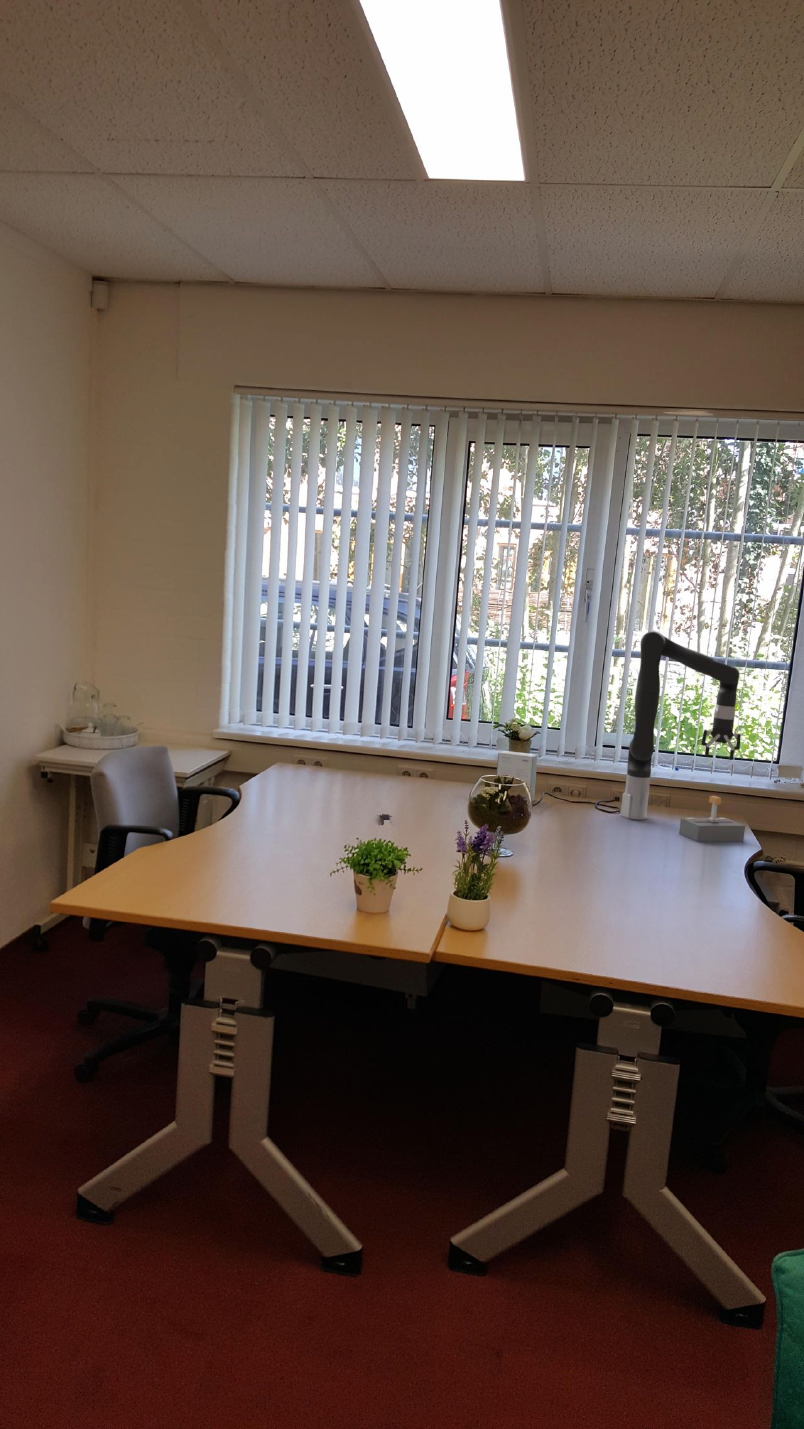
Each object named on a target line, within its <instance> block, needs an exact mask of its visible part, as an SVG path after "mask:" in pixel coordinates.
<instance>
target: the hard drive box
mask: <svg viewBox="0 0 804 1429" xmlns="http://www.w3.org/2000/svg"><path fill="white" fill-rule="evenodd" d="M496 766H497V767H496V776H497V775H508V776H512V777H515V778H519V779H520V780H523V781H524V782H525V783H527V786H528V787H529V790H530V794H531V796H532V800H533V801H532V802H534V801H535V793H536V792H535V790H536V779H537V770H538V769H537V766H538V754H536V753H535V754H533V753H527V752H526V753H525V752H518V751H517V752H516V751H511V750H502V751H499V752H497V764H496Z"/></svg>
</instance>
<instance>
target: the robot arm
mask: <svg viewBox="0 0 804 1429" xmlns="http://www.w3.org/2000/svg"><path fill="white" fill-rule="evenodd" d="M662 657H665V658H668V659H670V660H671V659H672V660H673V661H676V662H678V663H680V664H681V665H683V666H685V667H686V668H688V669H692V670H693V671H696V672H698V673H700V674H703V675H705V676H709V677H711V678H713V679H715V680H716V681H717V682H719V687H718V692H717V696H716V703H715V704H716V705H715V709H714V713H713V723H712V729H711V730H707V729H703V733H702V739H701V745H702V746H704V747H705V750H704V751H705V752H704V755H705V756H706V758H709V755H710V749H711V748H710V747H711V745H713V744H714V743H717V744H719V743H721V744H728V746H729V748H730V751H729V756H728V757H729V758H728V760H732V759H734V755H735V751H737V750H740V749H741V736H742V735H741V734H740V733H733V732H734V731H733V730H734V722H735V717H736V716H735V715H736V703H737V690H738V687H739V686H738V685H739V679H740V671H739V670H738V668H737V667H736V666H734V665H728V664H725V663H723V662H721V661H718V660H716V659H715V658H713V657H711V656H709V655H707V654H704V653H702V652H699V651H696V650H693V649H691V648H688V647H685V646H683V645H681V644H679V643H676V642H675V641H673V640H671V639H669V638H668V637H666V636H665V635H663V634H662V633H661V632H659V631H655V630H652V631H648V632H646V633H644V634H643V635H642V637H641V639H640V664H639V665H640V666H639V667H640V668H639V672H638V676H637V681H636V688H635V696H634V697H635V698H634V719H635V721H634V722H635V725H634V726H635V727H634V732H633V737H632V739H631V740H630V743H629V746H628V755H627V765H626V766H627V768H626V769H627V770H626V780H625V788H624V790H625V791H624V792H623V793H622V796H621V798H622V799H621V807H620V816H621V817H623V818H626V819H627V820H630V819H631V820H635V821H636V820H638V821H639V820H640V821H641V820H646V819H647V814H648V813H647V811H648V802H649V793H650V785H651V784H650V783H651V775H652V759H653V758H652V756H653V754H654V751H655V745H654V744H655V736H654V734H655V723H656V719H657V714H658V709H659V703H660V702H659V701H660V692H661V679H660V676H661V675H660V664H661V660H662ZM709 735H711V737H712V738H711V739H710V740H709V741H707V742H706V739H707V736H709ZM733 738H734V739H735V740H736V745H733V743H732V741H731V739H733Z"/></svg>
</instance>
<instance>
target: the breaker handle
mask: <svg viewBox="0 0 804 1429" xmlns="http://www.w3.org/2000/svg"><path fill="white" fill-rule="evenodd" d="M709 803H710V804H712V805H711V810H710V811H711V812H710V813H711V814H710V817H706V818H707V821H710V822H719V820H718V819H716V818H717V812H718V811H717V810H718V805H722V798H721V797H719V796H717V795H709Z"/></svg>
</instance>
